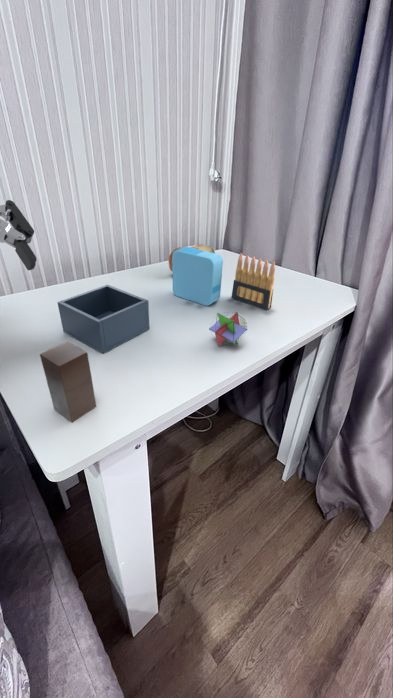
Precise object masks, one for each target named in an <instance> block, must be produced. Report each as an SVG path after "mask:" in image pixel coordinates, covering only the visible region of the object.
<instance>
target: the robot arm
mask: <svg viewBox="0 0 393 698" xmlns="http://www.w3.org/2000/svg"><path fill="white" fill-rule="evenodd" d="M0 217H1V218H0V243H1V244H3V243H5V244H7V245H8V246H11V247H12V248H14V249H15V250H14V251H15V253H16V255H17V256H18V257H19V259H20V261H21V262H22V264H23V265H24V267H25V268H26V270H27V271H32V270H34V269H35V267H36V264H37V261H38V260H37V256H36V254H35V253H34V251H33V250H32V248H31V246H30V245H29V244H30V243H31V242H32V239H33V236H35V235H34V234H35V229H34V228H33V227H32V225H31V224H30V223H29V221H28V219H27V218H26V217H25V215H24V214H23V213H22V211H21V210H20V209H19V207H18V206H17V205H16V203H15V202H14V201H13V200H10V199H7V200H6V201H5V204H1V205H0ZM2 218H3V219H4V220H3V219H2Z"/></svg>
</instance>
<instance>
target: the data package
mask: <svg viewBox="0 0 393 698" xmlns="http://www.w3.org/2000/svg"><path fill="white" fill-rule="evenodd" d="M183 247H184V248H181V249H179V250H176V251H174V250H173V251H174V253H173V272H172V292H173V294H174V296H176V297H179V298H182V299H185V300H187V301H190V302H193V303H196V304H200V305H203V306H206V307H208V306H210V305H212V304H214V303H215V302H216V301H218V300H219V299H220V298H221V291H222V290H221V289H222V279H223V267H224V259H223V257H222V255H220V254H219V253H216V252H215V253H212V252H207V251H203V250H199V249H195V248H191V247H187V246H183Z"/></svg>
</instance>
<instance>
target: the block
mask: <svg viewBox="0 0 393 698" xmlns="http://www.w3.org/2000/svg"><path fill="white" fill-rule="evenodd" d="M39 357H40V360H41V365H42V369H43V372H44V375H45V379H46V380H45V381H46V384H47V387H48V391H49V395H50V399H51V403H52V406H53V409H54V410H55V411H56V412H57V413H58V414H60V415H61V416H62V417H64V418H65V419H67V420H68V421H69V422H70V423H73V422H75V421H76V420H78V419H80V418H81V417H82V416H85V414H87V413H88V412H90V411H92V410H93V409H95V408H96V407H97V401H96V396H95V390H94V384H93V377H92V372H91V366H90V360H89V354H88V351H86V350H84V349H82V348H81V347H80V346H77V345H75V343H72V342H70V341H66V342H65V341H64V342H63V343H61V344H59V345H57V346H54V347H52V348H50V349H48V350H45V351H43V352H41V353H39Z"/></svg>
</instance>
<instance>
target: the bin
mask: <svg viewBox="0 0 393 698" xmlns="http://www.w3.org/2000/svg"><path fill="white" fill-rule="evenodd" d="M56 303H57V307H58V312H59V318H60V323H61V327H62V332H63V333H64V334H66V335H68V336H70V337H72V338H74V339H75V340H77V341H79V342H80V343H82V344H85V345H86V346H88V347H89V348H92V349H94V350H95V351H96V352H99V353H101V354H105V353H107V352H110V351H111V350H113V349H116V348H117V347H119V346H120V345H123V344H124V343H126V342H129V341H130V340H132V339H134V338H135V337H138V336H140V335H142V334H144V333H146V332H147V331H149V330H150V310H149V309H150V308H149V300H148V299H146V298H143V297H141V296H138V295H135V294H133V293H130V292H128V291H126V290H124V289H123V290H122V289H120V288H118V287H116V286H112V285H110V284H105V285H101V286H99V287H96V288H94V289H91V290H88V291H85V292H82V293H80V294H77V295H73V296H71V297H68V298H66V299H65V298H64V299H62V300H60V301H57V302H56Z"/></svg>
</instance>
